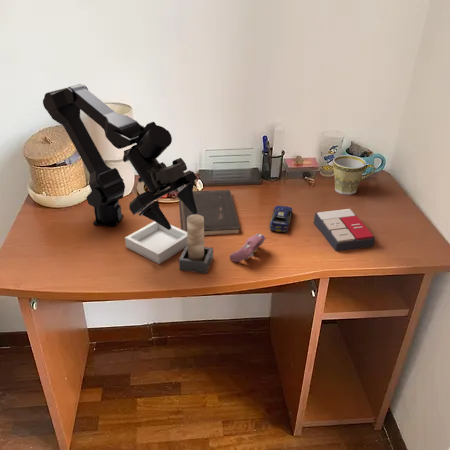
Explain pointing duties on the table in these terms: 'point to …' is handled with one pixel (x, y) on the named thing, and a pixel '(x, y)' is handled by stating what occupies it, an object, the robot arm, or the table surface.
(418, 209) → the table surface
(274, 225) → the race car
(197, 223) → the dowel
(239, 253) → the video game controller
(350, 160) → the ceramic cup
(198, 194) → the hardcover book
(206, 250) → the collar
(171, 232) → the tray
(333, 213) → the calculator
